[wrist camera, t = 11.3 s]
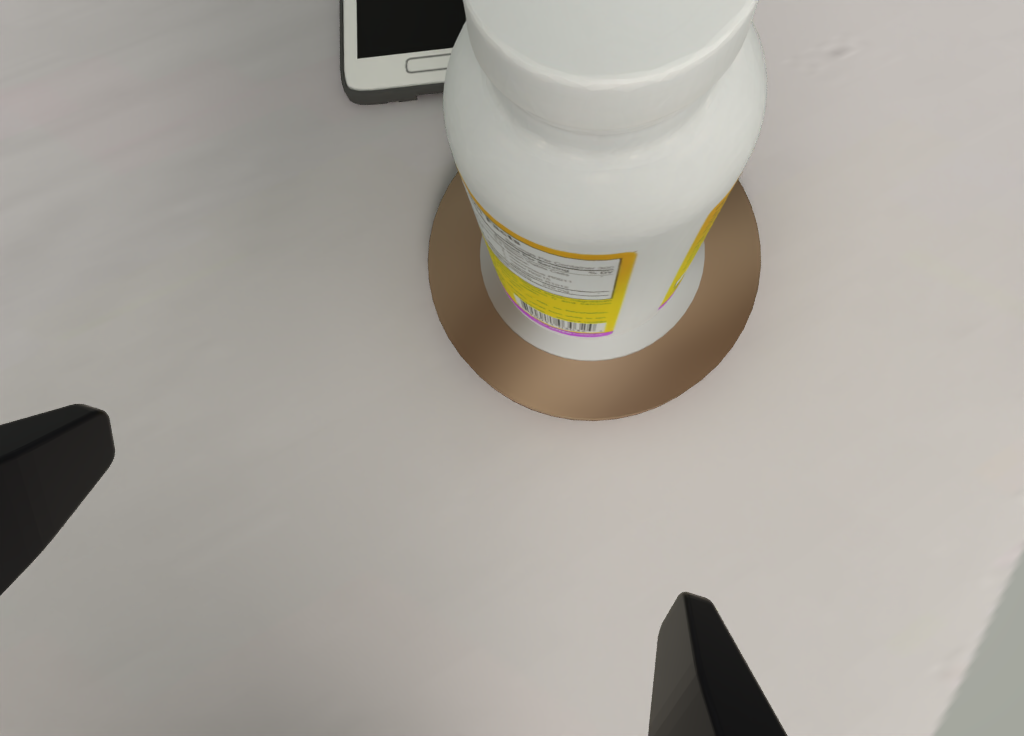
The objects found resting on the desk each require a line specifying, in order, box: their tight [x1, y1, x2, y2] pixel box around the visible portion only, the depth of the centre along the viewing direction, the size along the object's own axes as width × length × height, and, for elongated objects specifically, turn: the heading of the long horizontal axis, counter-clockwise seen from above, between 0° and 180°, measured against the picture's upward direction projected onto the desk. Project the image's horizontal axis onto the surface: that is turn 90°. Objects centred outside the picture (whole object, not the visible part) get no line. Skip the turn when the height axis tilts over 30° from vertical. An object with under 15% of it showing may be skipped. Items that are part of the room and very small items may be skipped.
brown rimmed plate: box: [428, 172, 761, 421], centre depth 22 cm, size 12×12×2 cm
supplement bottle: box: [443, 0, 767, 340], centre depth 15 cm, size 7×7×13 cm
